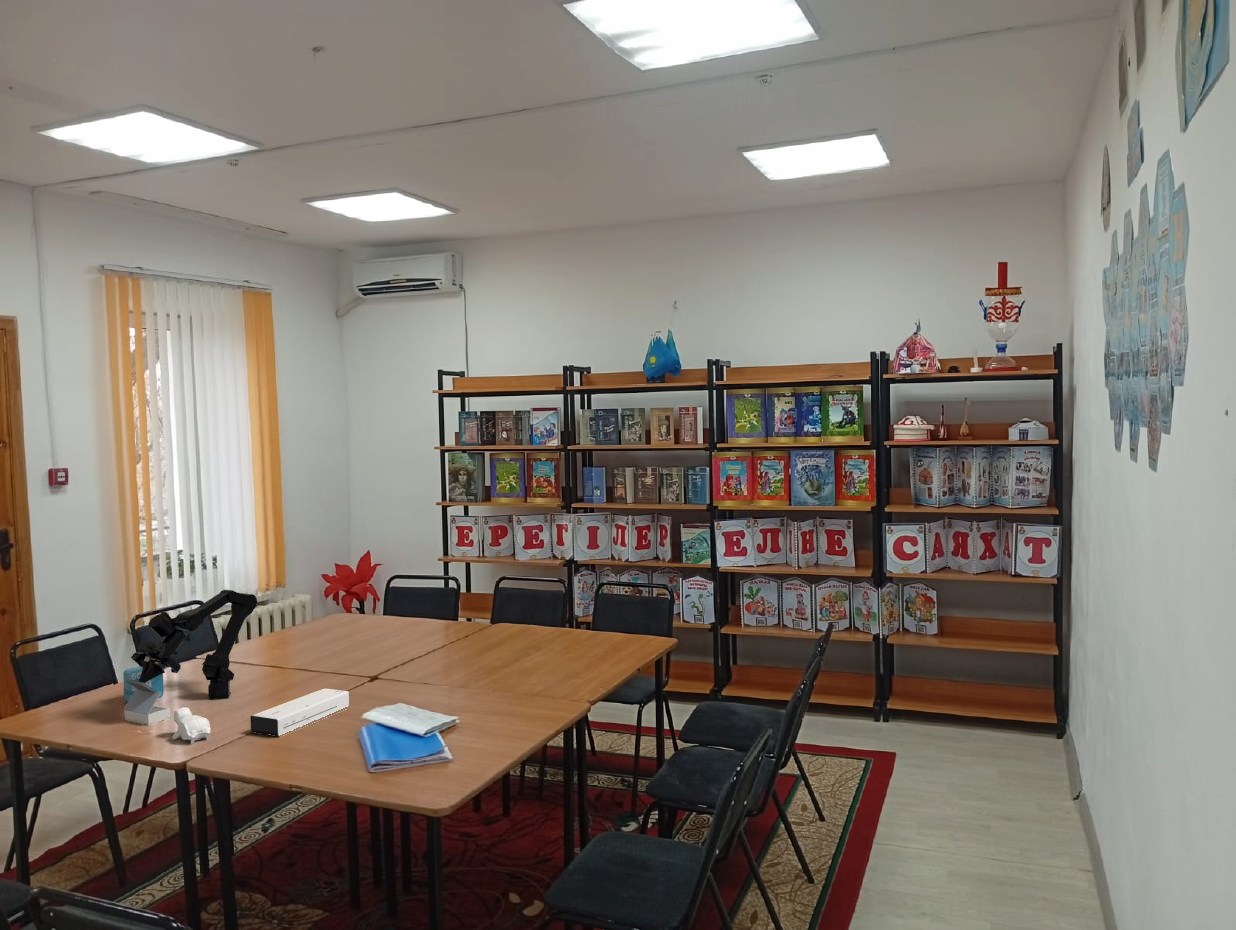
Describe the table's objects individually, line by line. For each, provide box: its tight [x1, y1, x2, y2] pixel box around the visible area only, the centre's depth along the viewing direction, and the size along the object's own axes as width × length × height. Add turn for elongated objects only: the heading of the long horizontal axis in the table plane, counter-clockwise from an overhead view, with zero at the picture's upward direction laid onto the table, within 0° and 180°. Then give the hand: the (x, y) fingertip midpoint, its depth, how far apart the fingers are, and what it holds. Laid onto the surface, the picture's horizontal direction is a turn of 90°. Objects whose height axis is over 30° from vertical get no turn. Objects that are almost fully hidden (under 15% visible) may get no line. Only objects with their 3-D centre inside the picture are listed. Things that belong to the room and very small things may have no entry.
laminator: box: [250, 687, 350, 737], centre depth 304 cm, size 34×12×6 cm, turn 157°
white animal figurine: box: [171, 706, 212, 745], centre depth 287 cm, size 9×8×15 cm
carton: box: [124, 704, 171, 726], centre depth 305 cm, size 8×12×4 cm, turn 63°
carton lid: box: [123, 680, 162, 715], centre depth 301 cm, size 8×12×7 cm
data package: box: [122, 665, 164, 703], centre depth 328 cm, size 12×4×12 cm, turn 142°
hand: (139, 683), depth 302 cm, fingers closed, pressing on carton lid
